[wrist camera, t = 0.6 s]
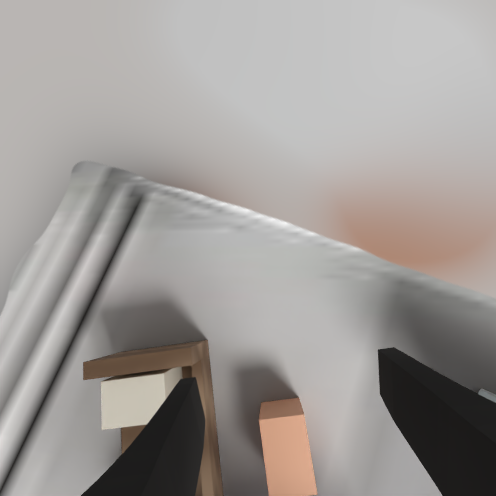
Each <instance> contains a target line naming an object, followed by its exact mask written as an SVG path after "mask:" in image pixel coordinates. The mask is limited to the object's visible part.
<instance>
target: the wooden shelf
mask: <svg viewBox="0 0 496 496" xmlns="http://www.w3.org/2000/svg"><path fill="white" fill-rule="evenodd" d="M176 367H182V378H183V379H184V378H191V377H196V380H197V384H198V389H199V393H200V397H201V402H202V406H203V411H204V415H205V419H206V420H205V436H204V448H203V455H202V460H201V466H200V472H199V477H198V483H197V488H196V494H195V496H223V487H222V477H221V467H220V457H219V447H218V438H217V428H216V418H215V408H214V398H213V388H212V378H211V368H210V358H209V349H208V340H204V341H196V342H189V343H182V344H175V345H168V346H161V347H153V348H146V349H139V350H132V351H125V352H120V353H116V354H112V355H109V356H105V357H101V358H98V359H94V360H90V361H87V362H83V380H88V379H95V378H102V377H110V376H117V375H125V374H132V373H139V372H147V371H154V370H162V369H169V368H176ZM146 425H147V424H146ZM146 425H138V426H130V427H122V428H121V441H122V454H123V453H124V452H125V450H126V449H127V448H128V447H129V446H130V445H131V443H132V442H133V441H134V440H135V438H136V437H137V436H138V435H139V434H140V432H141V431H142V430H143V429H144V427H145V426H146Z"/></svg>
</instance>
